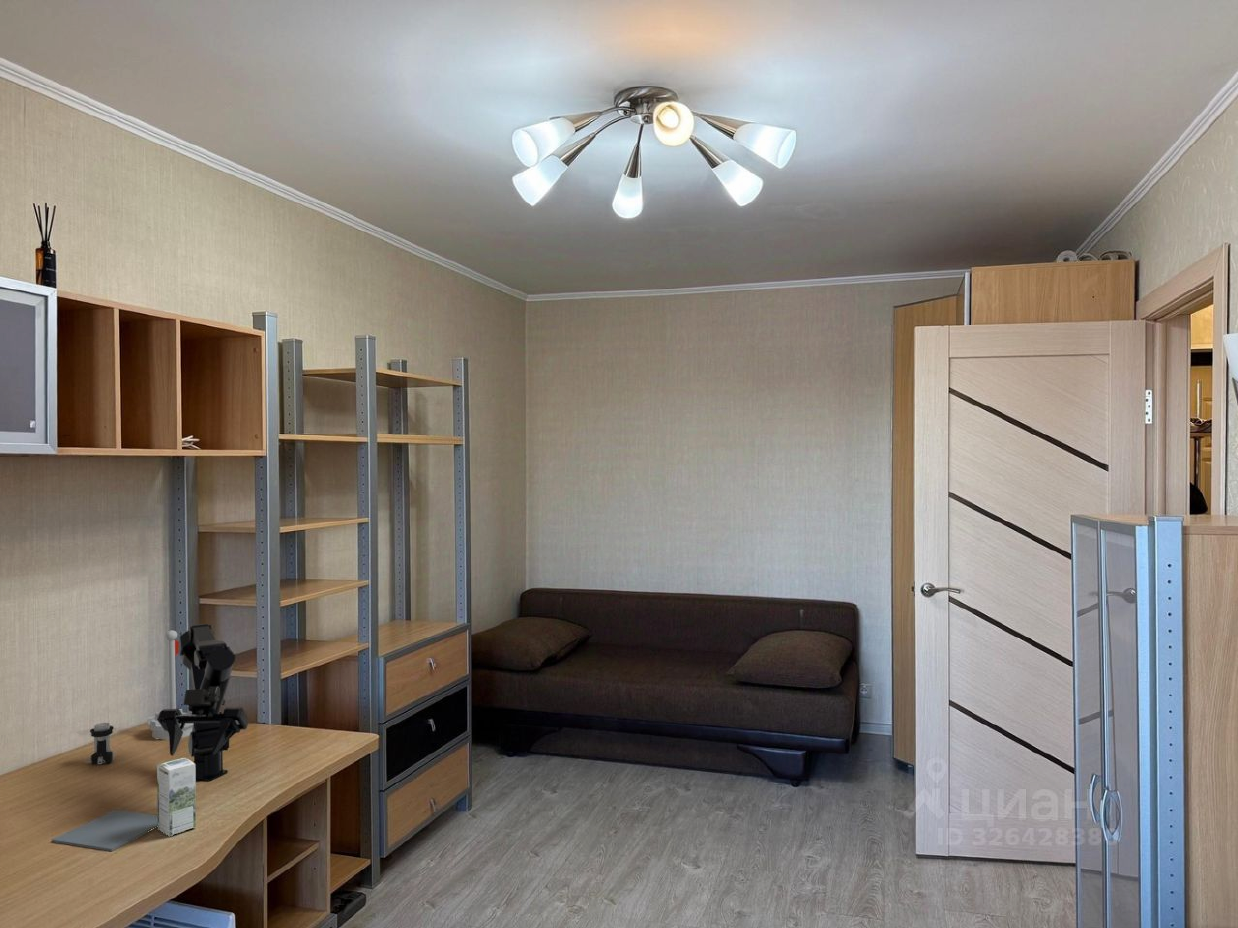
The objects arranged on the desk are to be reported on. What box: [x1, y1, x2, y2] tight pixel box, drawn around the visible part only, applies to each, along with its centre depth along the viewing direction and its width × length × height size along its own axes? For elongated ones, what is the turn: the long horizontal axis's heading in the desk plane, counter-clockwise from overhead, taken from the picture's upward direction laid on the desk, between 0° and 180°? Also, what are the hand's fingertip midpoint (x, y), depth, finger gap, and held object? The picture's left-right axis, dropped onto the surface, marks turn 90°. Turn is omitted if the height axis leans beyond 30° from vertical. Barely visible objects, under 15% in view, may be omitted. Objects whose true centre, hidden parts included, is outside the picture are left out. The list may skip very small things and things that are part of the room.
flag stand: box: [147, 629, 193, 739], centre depth 256 cm, size 13×13×30 cm
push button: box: [84, 722, 114, 765], centre depth 232 cm, size 7×5×10 cm
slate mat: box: [51, 809, 158, 852], centre depth 190 cm, size 16×16×1 cm
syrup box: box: [156, 757, 197, 838], centre depth 190 cm, size 6×6×14 cm
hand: (192, 753), depth 198 cm, fingers open, 9 cm apart
